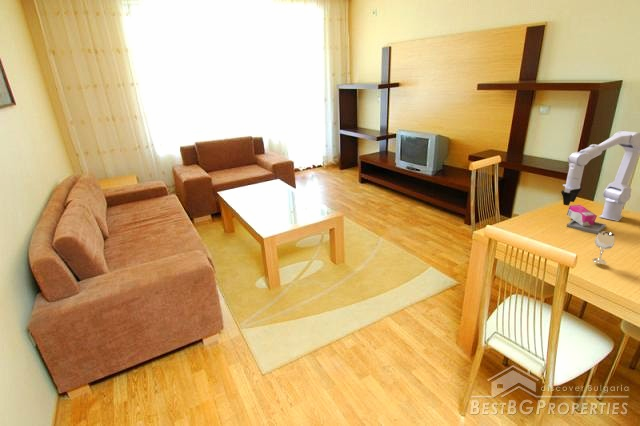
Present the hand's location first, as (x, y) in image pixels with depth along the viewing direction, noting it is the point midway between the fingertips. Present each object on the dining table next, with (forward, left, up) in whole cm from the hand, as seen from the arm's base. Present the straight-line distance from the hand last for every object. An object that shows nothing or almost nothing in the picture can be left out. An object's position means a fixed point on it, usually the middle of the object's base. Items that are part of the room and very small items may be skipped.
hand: (568, 203), depth 171 cm
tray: (0, +9, -10) cm, 14 cm away
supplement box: (-7, +1, -5) cm, 9 cm away
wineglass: (+37, +23, -11) cm, 45 cm away
